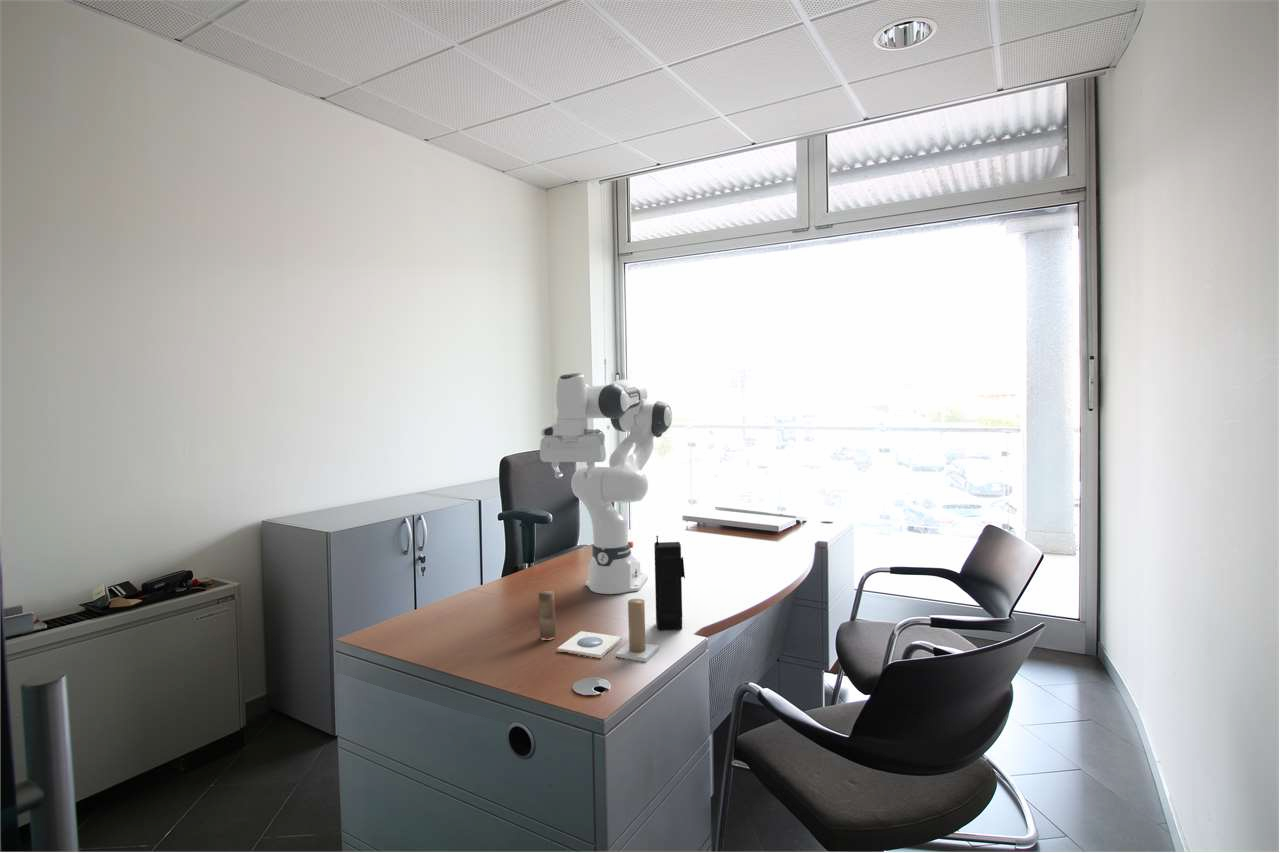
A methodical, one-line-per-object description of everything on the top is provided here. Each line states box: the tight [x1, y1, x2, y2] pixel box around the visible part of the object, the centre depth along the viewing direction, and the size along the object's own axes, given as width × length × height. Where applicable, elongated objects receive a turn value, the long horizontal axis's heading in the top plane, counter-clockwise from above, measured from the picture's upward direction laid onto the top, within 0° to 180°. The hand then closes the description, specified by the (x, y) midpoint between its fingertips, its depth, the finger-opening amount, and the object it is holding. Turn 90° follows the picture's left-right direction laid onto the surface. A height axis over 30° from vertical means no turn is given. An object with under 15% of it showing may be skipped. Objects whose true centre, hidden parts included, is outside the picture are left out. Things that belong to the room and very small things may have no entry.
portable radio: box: [654, 535, 686, 631], centre depth 183 cm, size 8×6×25 cm
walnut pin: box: [538, 590, 557, 639], centre depth 177 cm, size 4×4×12 cm
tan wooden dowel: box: [615, 598, 660, 663], centre depth 166 cm, size 8×8×13 cm
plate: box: [556, 630, 623, 658], centre depth 171 cm, size 12×12×1 cm
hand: (573, 478), depth 195 cm, fingers open, 8 cm apart
